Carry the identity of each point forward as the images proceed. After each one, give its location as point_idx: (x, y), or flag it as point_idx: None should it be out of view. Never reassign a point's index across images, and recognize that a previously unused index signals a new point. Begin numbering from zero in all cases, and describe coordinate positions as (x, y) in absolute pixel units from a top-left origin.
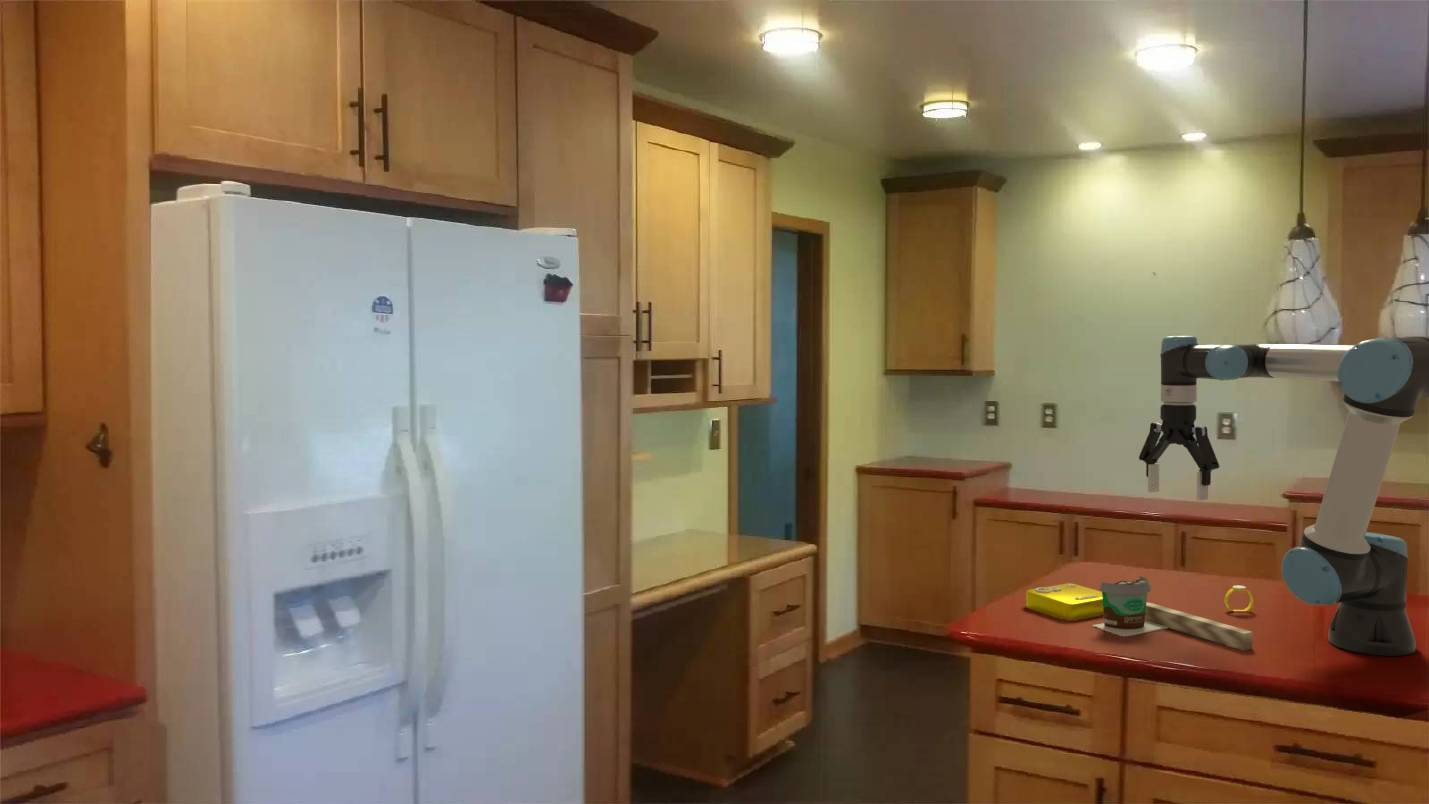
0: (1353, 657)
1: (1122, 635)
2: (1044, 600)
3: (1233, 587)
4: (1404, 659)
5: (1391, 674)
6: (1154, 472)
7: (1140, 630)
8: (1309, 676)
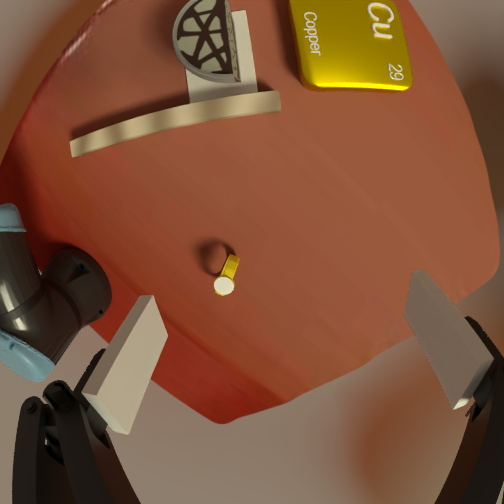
0: (51, 235)
1: None
2: None
3: (225, 277)
4: None
5: None
6: (448, 353)
7: None
8: (21, 151)
